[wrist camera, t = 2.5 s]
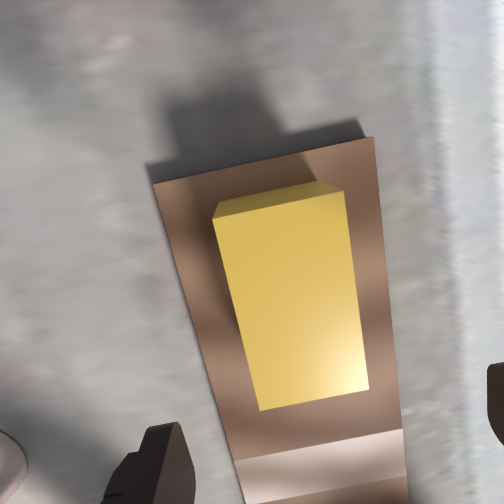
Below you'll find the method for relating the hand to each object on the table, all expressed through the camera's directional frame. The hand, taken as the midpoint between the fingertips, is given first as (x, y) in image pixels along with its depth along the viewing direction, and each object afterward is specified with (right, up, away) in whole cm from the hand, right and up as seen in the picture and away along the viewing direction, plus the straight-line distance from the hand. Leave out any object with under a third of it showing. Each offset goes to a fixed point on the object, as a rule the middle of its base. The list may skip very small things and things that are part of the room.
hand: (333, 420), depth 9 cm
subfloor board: (+1, -4, +13) cm, 13 cm away
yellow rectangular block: (0, +3, +9) cm, 10 cm away
